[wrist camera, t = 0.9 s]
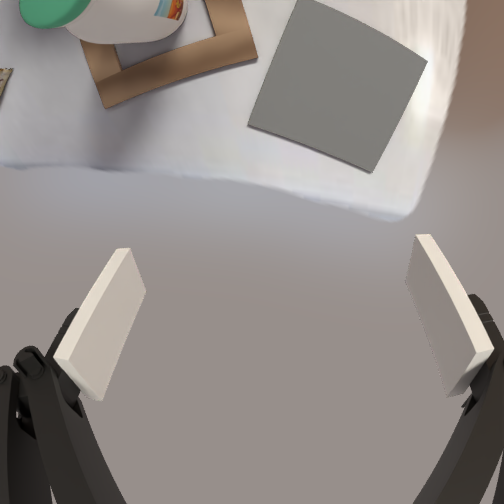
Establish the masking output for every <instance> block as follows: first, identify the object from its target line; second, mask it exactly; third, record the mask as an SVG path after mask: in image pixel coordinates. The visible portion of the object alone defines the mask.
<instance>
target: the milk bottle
mask: <svg viewBox="0 0 504 504" xmlns="http://www.w3.org/2000/svg"><path fill="white" fill-rule="evenodd" d="M19 7H20V13H21V16H22V18H23V19H24V21H25V22H26V23H27V24H29V25H30V26H33V27H35V28H40V29H49V28H62V27H66V29H67V30H68V31H69V32H70V33H71V34H73V35H74V36H76V37H77V38H79V39H81V40H84V41H87V42H91V43H96V44H122V43H139V42H152V41H157V40H160V39H163V38H165V37H167V36H169V35H170V34H172V33H173V32H174V31H176V30H177V29H178V27H179V26H180V25H181V24H182V22H183V20H184V18H185V16H186V13H187V8H188V2H187V0H20V2H19Z"/></svg>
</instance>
